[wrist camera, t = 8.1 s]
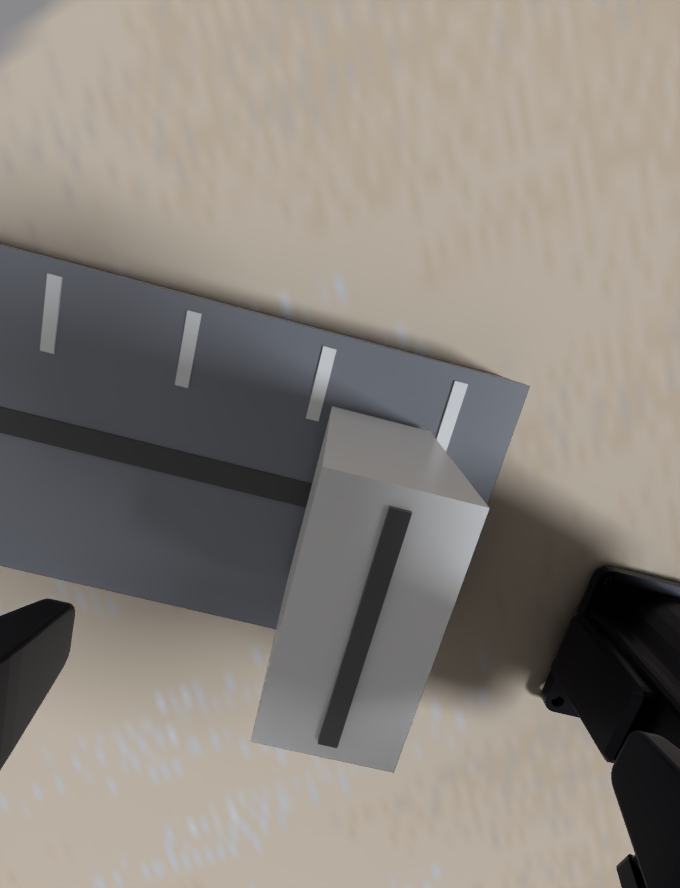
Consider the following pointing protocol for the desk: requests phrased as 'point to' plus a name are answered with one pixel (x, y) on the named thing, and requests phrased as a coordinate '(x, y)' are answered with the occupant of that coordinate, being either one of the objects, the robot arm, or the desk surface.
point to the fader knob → (367, 592)
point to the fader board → (193, 432)
